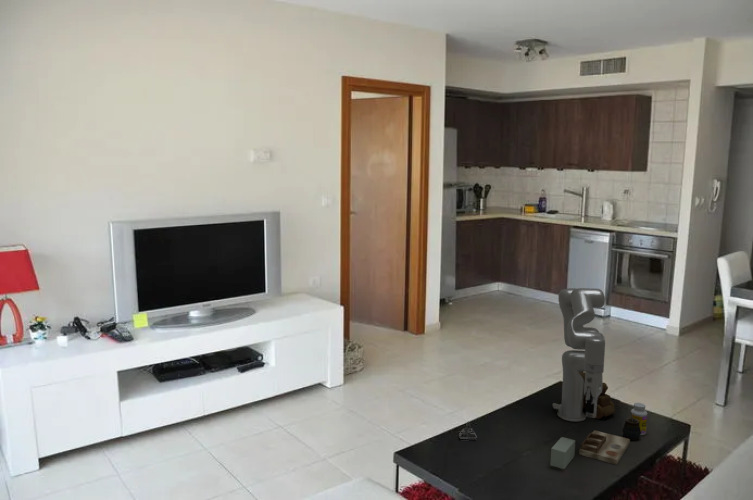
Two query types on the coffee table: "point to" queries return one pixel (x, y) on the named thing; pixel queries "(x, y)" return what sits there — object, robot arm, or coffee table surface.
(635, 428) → the mate gourd
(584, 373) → the wooden toy train
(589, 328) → the robot arm
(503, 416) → the coffee table surface
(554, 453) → the housing
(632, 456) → the coffee table surface
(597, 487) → the coffee table surface
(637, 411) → the supplement bottle
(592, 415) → the peg
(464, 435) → the house of cards
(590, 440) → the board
